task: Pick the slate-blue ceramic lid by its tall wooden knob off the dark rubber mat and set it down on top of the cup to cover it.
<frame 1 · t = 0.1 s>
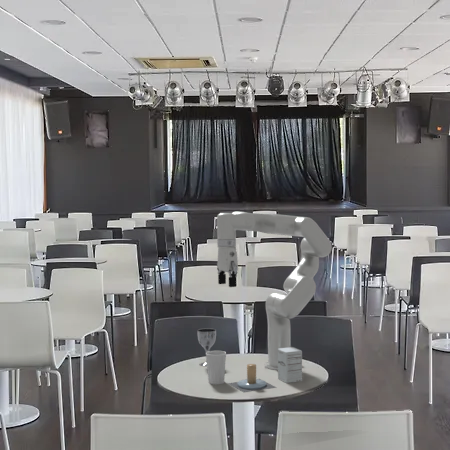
hand: (227, 285, 317), 37 cm above the table, tool pointing down, fingers open, 9 cm apart
cup: (216, 383, 306), on the table
supplement box: (290, 381, 308), on the table
lid: (251, 385, 301), resting on mat
wine glass: (207, 364, 336), on the table
mat: (251, 386, 301), on the table
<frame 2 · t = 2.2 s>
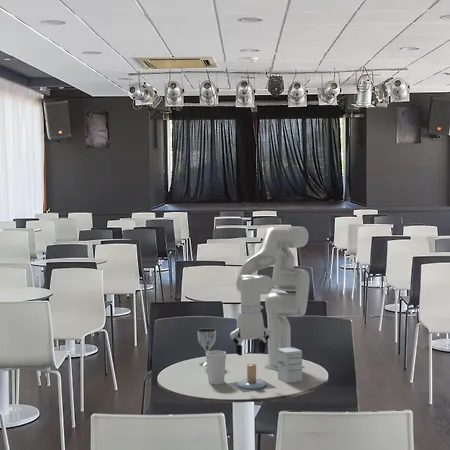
hand: (250, 353, 299), 13 cm above the table, tool pointing down, fingers open, 9 cm apart
nothing on the table moved.
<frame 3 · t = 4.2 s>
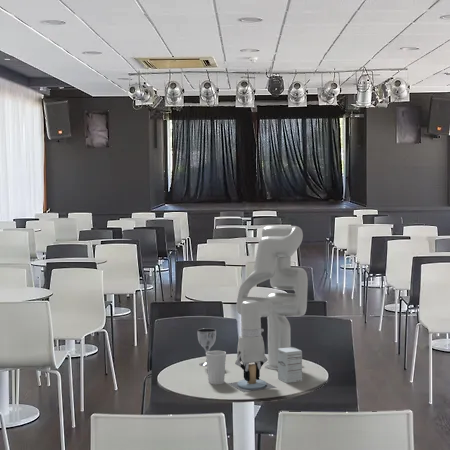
hand: (251, 379, 301), 3 cm above the table, tool pointing down, fingers closed on lid, 3 cm apart
lid: (251, 385, 301), resting on mat, touching gripper
everything else where it was.
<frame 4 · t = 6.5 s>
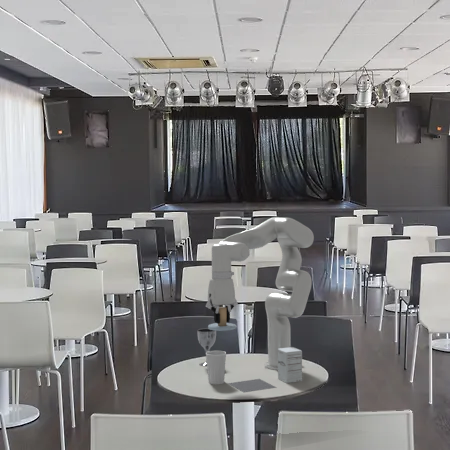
hand: (222, 322, 303), 24 cm above the table, tool pointing down, fingers closed on lid, 3 cm apart
lid: (222, 328, 304), point 22 cm above the table, touching gripper
everything else where it was.
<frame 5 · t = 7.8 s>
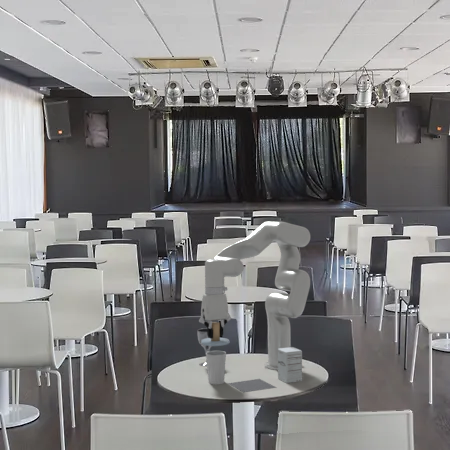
hand: (215, 337, 305), 18 cm above the table, tool pointing down, fingers closed on lid, 3 cm apart
lid: (215, 343, 305), point 16 cm above the table, touching gripper
everything else where it was.
when the fingers open (16 cm above the table, at t = 8.9 s): lid drops 1 cm, resting on cup.
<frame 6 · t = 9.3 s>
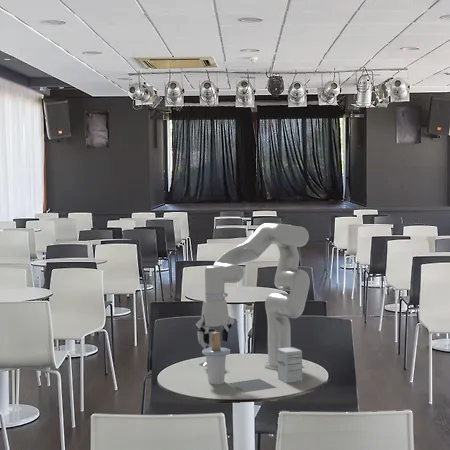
hand: (215, 341, 305), 16 cm above the table, tool pointing down, fingers open, 7 cm apart
cup: (216, 383, 306), on the table, touching lid
lid: (216, 352, 306), point 12 cm above the table, touching cup
everything else where it was.
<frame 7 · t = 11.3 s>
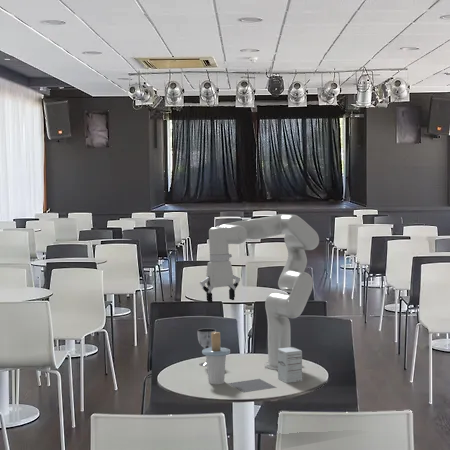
hand: (220, 301, 309), 32 cm above the table, tool pointing down, fingers open, 9 cm apart
nothing on the table moved.
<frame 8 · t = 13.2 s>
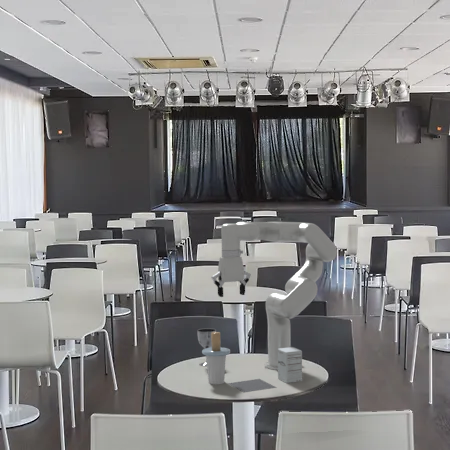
hand: (231, 295, 318), 32 cm above the table, tool pointing down, fingers open, 9 cm apart
nothing on the table moved.
at the end: lid 0.1 cm from the cup (horizontally); lid point 12.0 cm above the table; cup tilted 0° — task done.
